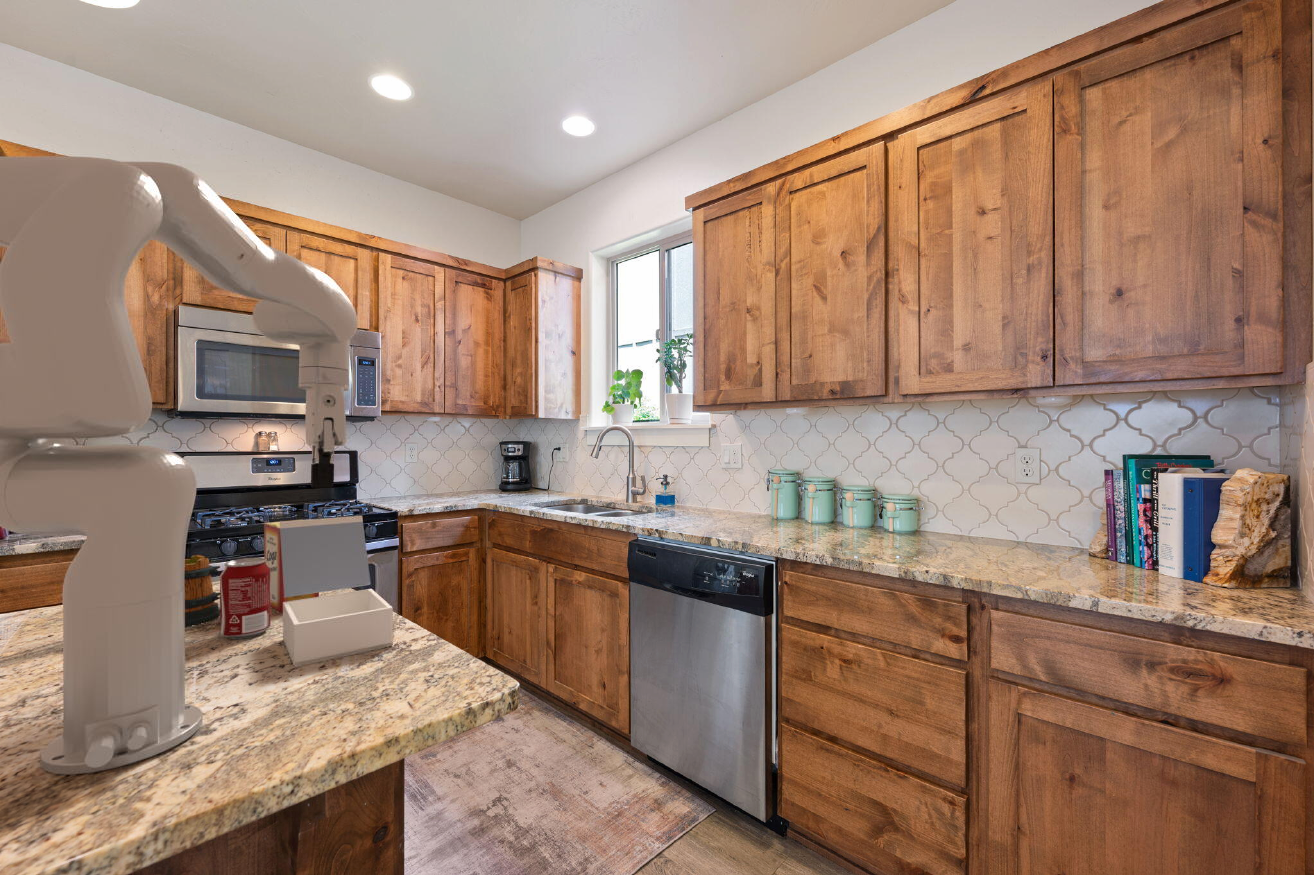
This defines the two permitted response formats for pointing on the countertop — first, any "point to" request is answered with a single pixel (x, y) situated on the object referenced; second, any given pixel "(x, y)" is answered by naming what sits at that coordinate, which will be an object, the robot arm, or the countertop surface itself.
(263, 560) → the soda can
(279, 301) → the robot arm
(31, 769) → the countertop surface
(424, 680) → the countertop surface
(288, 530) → the lid
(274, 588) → the baking soda box
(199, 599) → the mug
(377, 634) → the white open box
